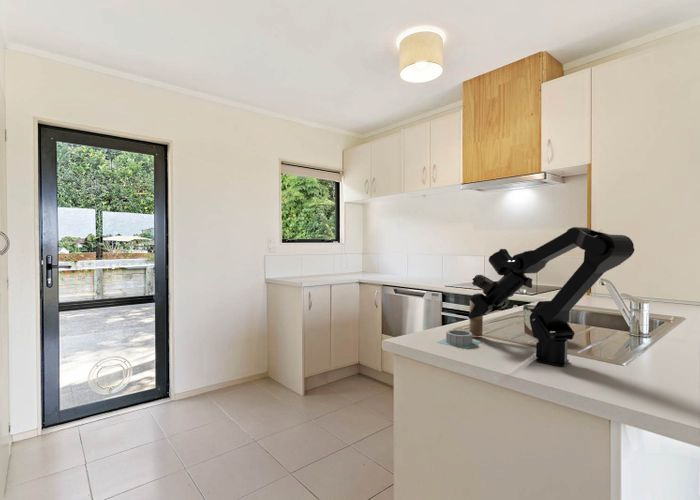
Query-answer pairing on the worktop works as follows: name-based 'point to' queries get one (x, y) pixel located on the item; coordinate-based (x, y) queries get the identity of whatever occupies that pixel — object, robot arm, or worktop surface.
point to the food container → (528, 320)
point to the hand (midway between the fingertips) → (472, 316)
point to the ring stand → (459, 339)
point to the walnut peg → (476, 323)
